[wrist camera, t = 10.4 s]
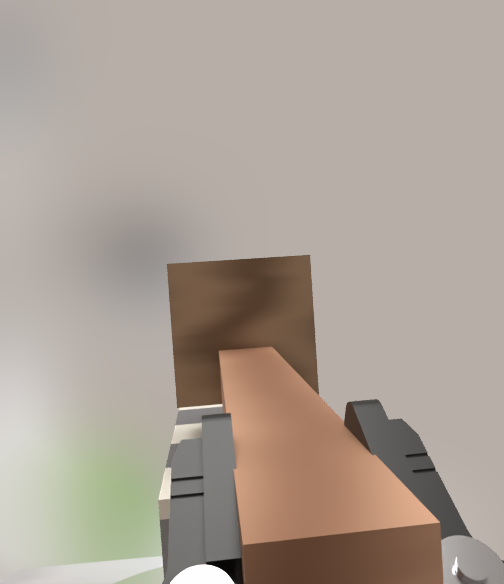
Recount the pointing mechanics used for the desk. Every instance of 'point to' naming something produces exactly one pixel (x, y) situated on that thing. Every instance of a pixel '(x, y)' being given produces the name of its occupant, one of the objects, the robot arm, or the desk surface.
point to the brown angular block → (291, 433)
